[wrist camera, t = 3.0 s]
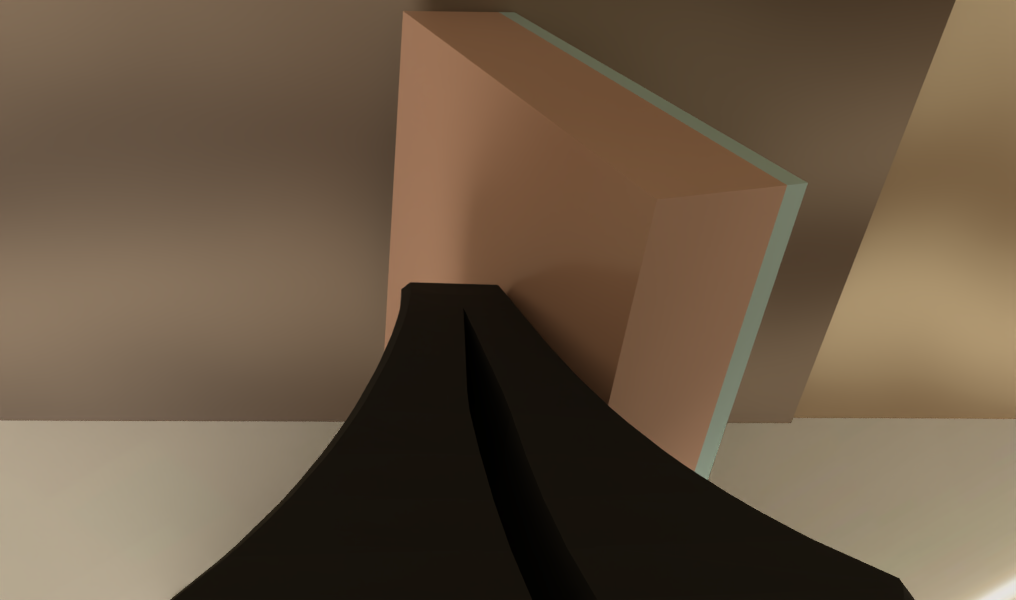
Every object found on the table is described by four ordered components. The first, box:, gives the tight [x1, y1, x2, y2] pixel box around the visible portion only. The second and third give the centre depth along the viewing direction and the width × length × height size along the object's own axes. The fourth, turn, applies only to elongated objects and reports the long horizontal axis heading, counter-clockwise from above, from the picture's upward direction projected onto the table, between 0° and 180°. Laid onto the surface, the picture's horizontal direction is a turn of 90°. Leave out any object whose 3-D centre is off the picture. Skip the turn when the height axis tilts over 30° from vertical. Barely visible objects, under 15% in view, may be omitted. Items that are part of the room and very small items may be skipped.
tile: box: [384, 11, 808, 480], centre depth 13 cm, size 7×2×7 cm, turn 173°
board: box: [0, 0, 1016, 423], centre depth 17 cm, size 11×27×2 cm, turn 83°
